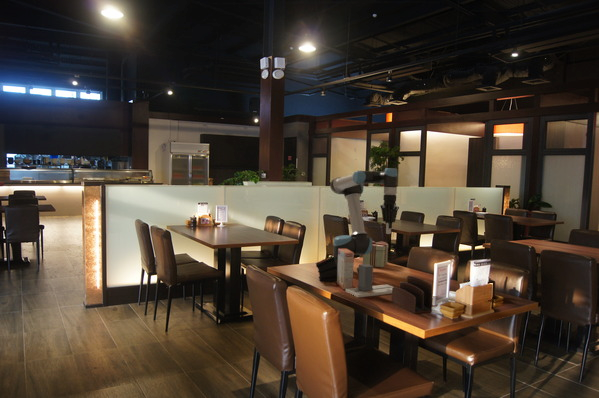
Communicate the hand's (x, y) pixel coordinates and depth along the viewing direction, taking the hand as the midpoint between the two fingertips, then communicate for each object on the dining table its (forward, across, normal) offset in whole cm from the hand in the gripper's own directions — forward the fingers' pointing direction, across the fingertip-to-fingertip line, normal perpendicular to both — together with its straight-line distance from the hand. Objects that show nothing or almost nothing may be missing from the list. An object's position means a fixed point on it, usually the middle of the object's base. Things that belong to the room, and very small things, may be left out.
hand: (388, 233), depth 258 cm
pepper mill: (+30, +45, +25) cm, 59 cm away
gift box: (+30, -40, +31) cm, 59 cm away
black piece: (+30, -20, -30) cm, 47 cm away
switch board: (+29, +12, -23) cm, 39 cm away
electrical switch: (+30, -9, -9) cm, 32 cm away
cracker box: (+30, -5, -29) cm, 42 cm away
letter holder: (+30, +40, -26) cm, 56 cm away
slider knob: (+27, +11, -28) cm, 41 cm away
